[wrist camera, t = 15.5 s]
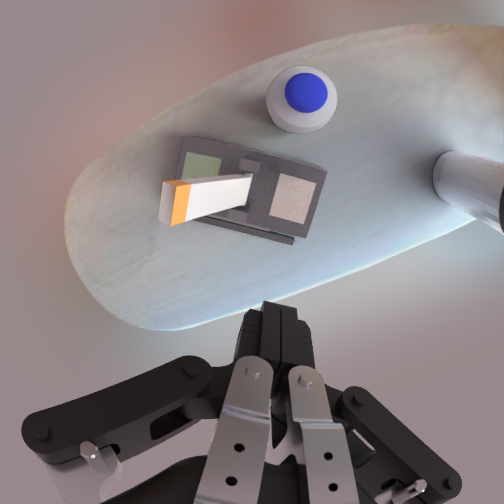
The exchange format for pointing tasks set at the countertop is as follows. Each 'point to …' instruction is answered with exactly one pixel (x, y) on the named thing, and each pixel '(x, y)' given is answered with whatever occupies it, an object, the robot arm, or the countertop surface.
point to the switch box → (258, 183)
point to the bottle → (301, 99)
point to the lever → (202, 196)
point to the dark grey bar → (245, 228)
